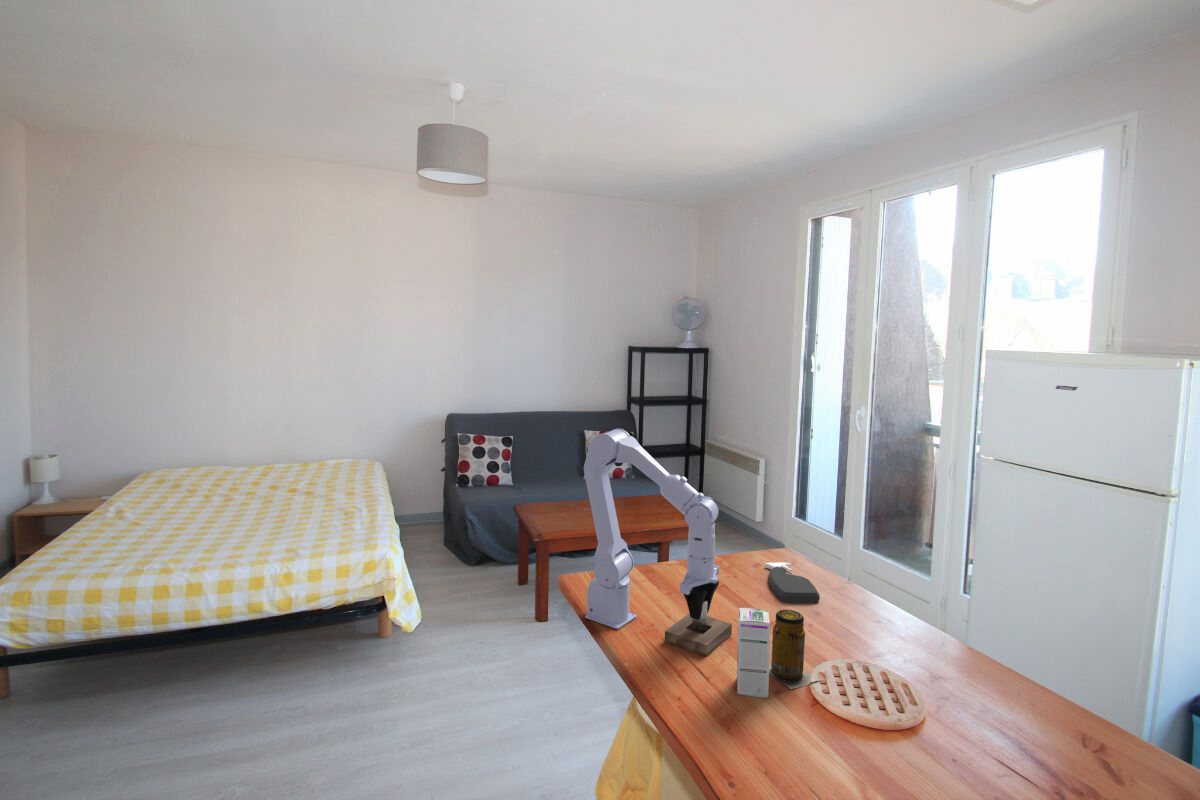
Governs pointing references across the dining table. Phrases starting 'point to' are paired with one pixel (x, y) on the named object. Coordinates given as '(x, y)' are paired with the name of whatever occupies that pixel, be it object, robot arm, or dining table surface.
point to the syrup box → (753, 652)
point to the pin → (701, 619)
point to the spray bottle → (791, 585)
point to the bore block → (698, 635)
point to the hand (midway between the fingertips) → (699, 615)
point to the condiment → (789, 649)
